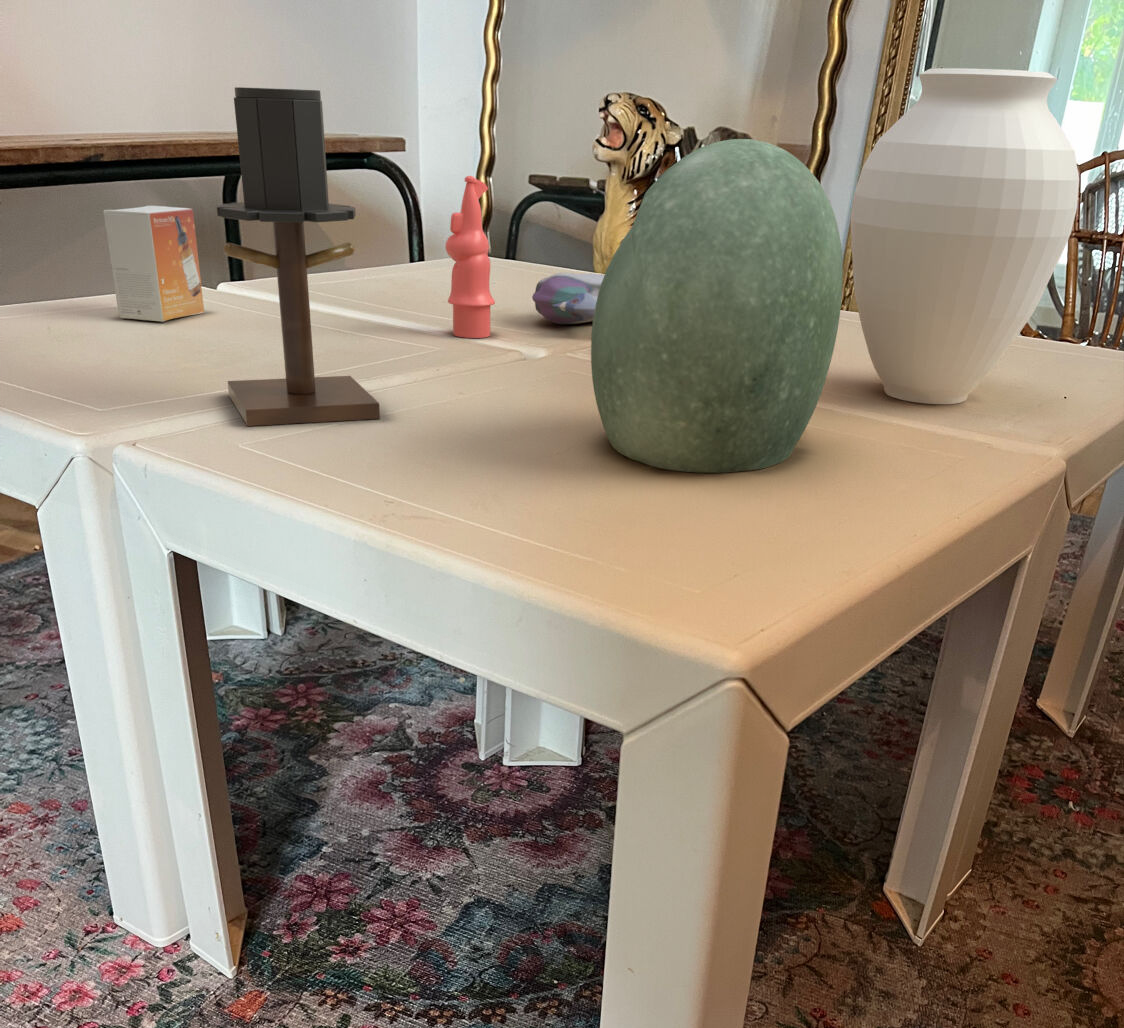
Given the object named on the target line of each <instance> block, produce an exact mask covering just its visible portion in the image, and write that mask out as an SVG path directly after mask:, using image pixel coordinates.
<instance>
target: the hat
mask: <svg viewBox="0 0 1124 1028" xmlns="http://www.w3.org/2000/svg"><path fill="white" fill-rule="evenodd" d="M321 94H322V93H321V90H319V89H293V88H269V87H241V86H240V87H237V86H236V87H234V97H233V104H234V114H235V115H234V116H235V124H236V134H237V144H238V154H239V156H238V157H239V164H240V177H241V182H242V183H241V184H242V195H243V202H229V203H222V204H219V205H218V206H217V207H216V214H217V217H220V218H223V219H229V220H230V219H231V220H237V221H246V222H252V221H259V222H260V223H273V222H295V223H303V222H304V223H305V222H309V223H328V222H329V223H330V222H346V221H349V220H354V219H355V217H356V207H355V206H351V205H346V204H337V203H329V186H328V174H327V171H328V170H327V158H326V157H327V156H326V155H327V154H326V143H325V142H326V141H325V125H324V113H323V112H324V111H323V101H322V97H321Z"/></svg>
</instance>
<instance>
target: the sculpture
mask: <svg viewBox="0 0 1124 1028" xmlns="http://www.w3.org/2000/svg"><path fill="white" fill-rule="evenodd" d="M842 249H843V248H842V241H841V235H840V231H839V225H838V221H837V218H836V215H835V211H834V210H833V207H832V204H831V202H830V200H829V197H828V194H827V193H826V191H825V189H824V188H823V186H822V184H821V183H820V181H819V180H818V178H817V177H816V176H815V175H814V173H813V172H812V171H811V170H810V169H809V168H808V167H807V166H806V165H805V164H804V163H803V162H802V161H801V160H800V159H799V158H798V157H796V156H795V155H793V154H792V153H790V151H787V150H785V149H784V148H781V147H779V146H777V145H774V144H772V143H769V142H766V141H761V140H757V139H751V138H730V139H726V140H720V141H716V142H713V143H709V144H707V145H705V146H702V147H699V148H697V149H696V150H693V151H692V152H690V153H688V154H687V155H685V156H683V157H682V158H681V159H679V160H678V161H676V162H675V163H674V164H673V165H671V166H670V167H669V168H667V170H666V171H665V172H664V173H662V174H661V175H660V176H659V177H658V178H657V180H656V181H654V182H653V184H652V185H650V187H649V188H648V189H647V190H646V192H645V193H644V194H643V198H642V201H641V203H640V206H639V208H638V210H637V212H636V216H635V219H634V221H633V224H632V226H631V227H630V229H629V230H628V231H627V233H626V234H625V236H624V237H623V239H622V241H621V242H620V244H619V246H618V247H617V249H616V250H615V252H614V254H613V256H612V258H611V259H610V262H609V264H608V266H607V268H606V270H605V273H604V278H603V281H602V283H601V286H600V290H599V293H598V297H597V302H596V307H595V312H594V318H593V321H592V325H591V326H592V328H591V341H590V364H591V365H590V366H591V376H592V385H593V393H594V397H595V398H594V399H595V402H596V403H595V404H596V406H597V410H598V414H599V417H600V421H601V424H602V427H603V429H604V432H605V434H606V437H607V439H608V441H609V443H610V446H612V447H613V448H614V450H615V451H617V452H618V453H619V454H620V455H622V456H624V457H626V458H628V459H630V460H633V461H635V462H638V463H642V464H644V465H646V466H647V465H648V466H650V467H654V468H657V469H663V470H668V471H677V472H685V473H704V474H718V473H720V474H721V473H735V472H746V471H747V472H748V471H757V470H763V469H766V468H770V467H772V466H775V465H778V464H780V463H782V462H784V461H785V460H787V459H788V458H789V457H790V456H791V455H792V453H793V451H794V450H795V448H796V445H797V444H798V442H799V441H800V439H801V437H802V436H803V434H804V433H805V431H806V429H807V427H808V425H809V423H810V421H811V419H812V417H813V415H814V412H815V410H816V408H817V405H818V403H819V401H820V397H821V396H822V392H823V390H824V386H825V384H826V380H827V376H828V373H829V370H830V366H831V362H832V358H833V354H834V350H835V345H836V341H837V335H838V329H839V325H840V317H841V309H842V300H843V299H842V298H843V282H844V281H843V279H844V278H843V277H844V272H843V270H844V268H843V267H844V266H843V251H842Z"/></svg>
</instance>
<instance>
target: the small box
mask: <svg viewBox="0 0 1124 1028" xmlns="http://www.w3.org/2000/svg"><path fill="white" fill-rule="evenodd" d="M102 212H103V219H104V226H105V233H106V240H107V245H108V253H109V259H110V266H111V271H112V273H111V274H112V280H113V287H114V293H115V299H116V305H117V312H118V317H119V318H120V319H128V320H140V321H152V322H167V321H169V320H173V319H178V318H182V317H190V316H194V315H200V314H204V313H205V306H204V297H203V288H202V287H203V286H202V279H201V278H202V277H201V270H200V262H199V261H200V260H199V253H198V252H199V251H198V243H197V235H196V234H197V233H196V226H195V225H196V223H195V217H194V215H195V214H194V210H193V208H191V207H190V208H188V207H178V206H165V205H145V206H139V207H131V208H121V209H104V210H103V211H102Z"/></svg>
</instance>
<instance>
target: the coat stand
mask: <svg viewBox="0 0 1124 1028" xmlns="http://www.w3.org/2000/svg"><path fill="white" fill-rule="evenodd" d="M272 229H273V240H274V241H273V242H274V253H275V254H272V253H270V252H269V253H268V252H265V251H261V250H258V249H254V248H251V247H248V246H244V245H239V244H236V243H232V242H227V243H225V244H224V245H223V252H224V254H225V255H226V256H228V257H230V258H234V259H238V260H242V261H245V262H249V263H253V264H256V265H261V266H263V267H268V268H272V269H275V270H276V275H277V276H276V277H277V278H276V279H277V290H278V300H279V313H280V326H281V337H282V346H283V347H282V348H283V349H282V350H283V359H284V371H285V373H284V374H285V378H266V379H264V378H263V379H243V380H227V390H228V396H229V398H230V399H231V402H232V403H233V405H234V406H235V408H236V410H237V411H238V413H239V415H240V417H241V418H242V420H243V421H244V423H245V424H246V426H247V427H257V426H258V427H259V426H260V427H261V426H274V425H275V426H276V425H277V426H278V425H292V424H309V423H327V422H329V423H331V422H344V421H345V422H346V421H347V422H348V421H364V420H365V421H366V420H379V419H380V418H381V414H380V402H379V401H377V400H376V399H375V398H374V397H373V396H372V395H371V394H370V393H369V392H368V391H367V390H366V389H365V388H364V387H363V386H362V385H360V384H359V383H358V381H356V380H355V378H353V377H352V376H351V375H337V376H334V375H333V376H315V363H314V350H313V348H314V347H313V335H312V323H311V321H312V320H311V307H310V292H309V279H308V270H309V269H311V268H314V267H318V266H320V265H321V266H322V265H324V264H327V263H330V262H334V261H336V260H337V261H338V260H340V259H344V258H346V257H347V258H348V257H350V256H352V255H354V253H355V246H354V244H353V243H352V242H344V243H341V244H338V245H335V246H331V247H328V248H324V249H322V250H319V251H318V250H317V251H315V252H311V253H308V254H307V251H306V250H307V249H306V237H305V236H306V235H305V221H304V222H303V223H295V222H272Z"/></svg>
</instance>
